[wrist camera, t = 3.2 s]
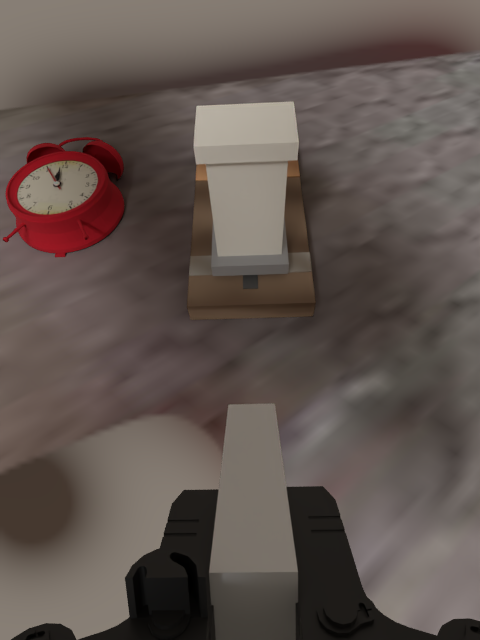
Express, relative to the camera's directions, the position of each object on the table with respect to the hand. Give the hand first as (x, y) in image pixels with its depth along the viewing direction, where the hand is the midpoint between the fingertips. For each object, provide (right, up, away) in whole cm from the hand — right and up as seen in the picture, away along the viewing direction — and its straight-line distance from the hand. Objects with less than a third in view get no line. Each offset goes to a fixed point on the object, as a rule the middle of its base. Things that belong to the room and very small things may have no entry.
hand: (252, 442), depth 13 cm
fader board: (0, +14, +26) cm, 30 cm away
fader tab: (0, +10, +21) cm, 23 cm away
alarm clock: (-17, +16, +29) cm, 37 cm away
